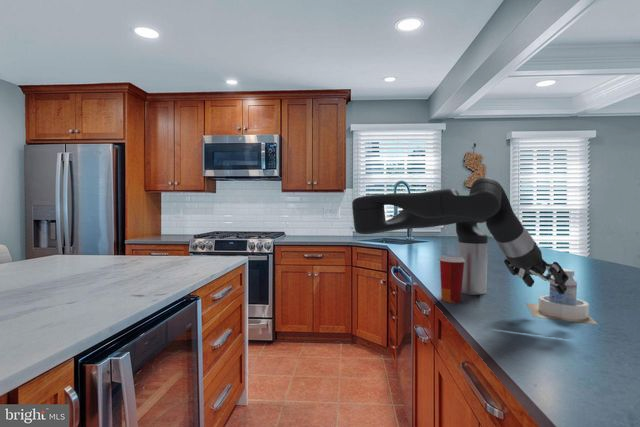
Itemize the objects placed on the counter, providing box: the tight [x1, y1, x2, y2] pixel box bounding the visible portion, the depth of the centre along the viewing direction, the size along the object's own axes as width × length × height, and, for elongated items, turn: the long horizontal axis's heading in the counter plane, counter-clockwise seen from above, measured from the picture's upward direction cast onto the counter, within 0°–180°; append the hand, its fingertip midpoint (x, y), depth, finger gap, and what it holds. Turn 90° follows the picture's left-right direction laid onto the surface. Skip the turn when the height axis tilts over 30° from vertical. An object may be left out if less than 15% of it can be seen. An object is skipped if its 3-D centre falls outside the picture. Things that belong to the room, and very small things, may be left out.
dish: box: [538, 294, 590, 320], centre depth 96 cm, size 11×11×4 cm
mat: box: [525, 302, 598, 325], centre depth 96 cm, size 14×14×1 cm
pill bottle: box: [548, 267, 578, 305], centre depth 96 cm, size 6×6×11 cm
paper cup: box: [438, 254, 465, 304], centre depth 109 cm, size 8×8×14 cm
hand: (546, 288), depth 92 cm, fingers open, 8 cm apart
